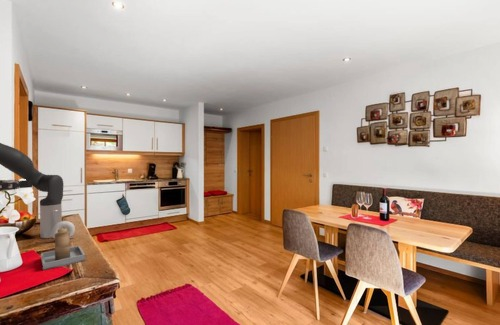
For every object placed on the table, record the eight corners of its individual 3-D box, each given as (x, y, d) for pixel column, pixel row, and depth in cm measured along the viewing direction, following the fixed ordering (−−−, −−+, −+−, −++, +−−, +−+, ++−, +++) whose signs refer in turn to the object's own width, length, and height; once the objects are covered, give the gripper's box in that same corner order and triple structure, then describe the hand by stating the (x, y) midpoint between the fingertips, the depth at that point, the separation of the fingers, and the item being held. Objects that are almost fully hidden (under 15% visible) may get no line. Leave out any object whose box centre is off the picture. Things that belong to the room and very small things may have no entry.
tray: (41, 259, 105) (41, 253, 105) (79, 251, 114) (79, 245, 114) (43, 270, 95) (42, 263, 95) (85, 260, 104) (85, 254, 103)
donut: (74, 237, 134) (74, 218, 134) (75, 239, 131) (75, 220, 131) (51, 241, 128) (50, 222, 128) (51, 243, 125) (50, 223, 125)
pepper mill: (54, 258, 105) (54, 229, 104) (69, 255, 108) (69, 227, 108) (55, 261, 101) (55, 232, 101) (70, 258, 104) (70, 229, 104)
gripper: (-31, 177, 85) (32, 175, 96) (-25, 175, 96) (31, 173, 107) (-31, 199, 86) (32, 194, 96) (-25, 195, 96) (32, 191, 107)
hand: (32, 183), depth 102 cm, fingers open, 8 cm apart
